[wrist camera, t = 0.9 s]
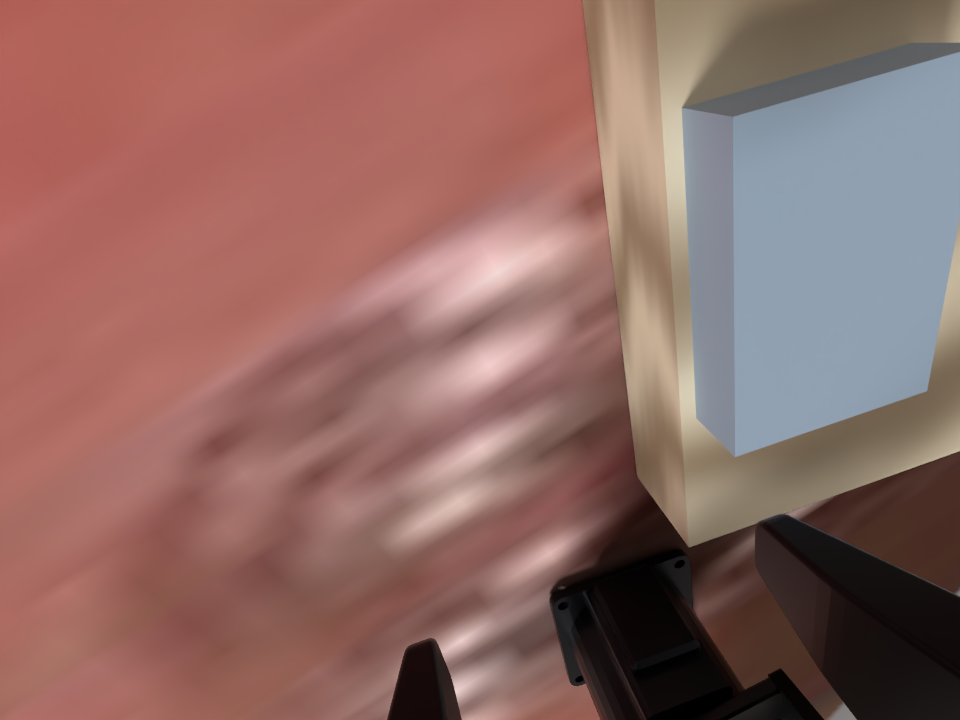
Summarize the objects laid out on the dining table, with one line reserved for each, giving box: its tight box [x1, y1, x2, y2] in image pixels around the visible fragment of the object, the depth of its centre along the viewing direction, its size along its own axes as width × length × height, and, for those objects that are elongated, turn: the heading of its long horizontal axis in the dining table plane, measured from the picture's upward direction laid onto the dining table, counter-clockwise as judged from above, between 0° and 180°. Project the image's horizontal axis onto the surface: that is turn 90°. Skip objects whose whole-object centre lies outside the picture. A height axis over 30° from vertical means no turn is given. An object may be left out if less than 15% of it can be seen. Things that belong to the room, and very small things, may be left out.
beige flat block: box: [582, 0, 960, 547], centre depth 18 cm, size 20×11×4 cm, turn 13°
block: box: [682, 43, 960, 457], centre depth 15 cm, size 9×6×2 cm, turn 13°
